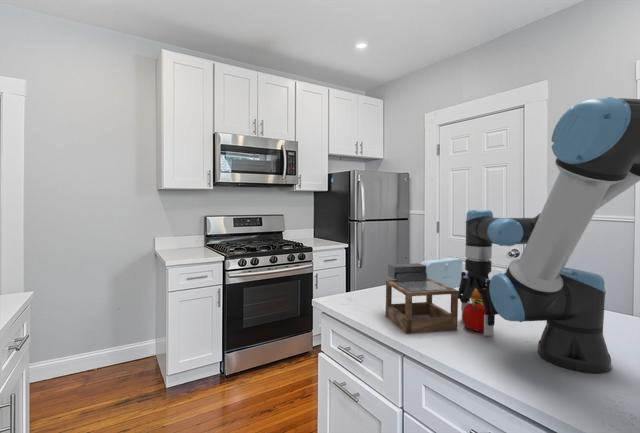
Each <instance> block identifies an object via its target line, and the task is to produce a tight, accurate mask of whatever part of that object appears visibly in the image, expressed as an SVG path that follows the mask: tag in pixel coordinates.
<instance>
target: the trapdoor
mask: <svg viewBox="0 0 640 433" xmlns="http://www.w3.org/2000/svg"><path fill="white" fill-rule="evenodd" d="M387 265H388V266H387V269H388V270H387V276H388V277H390V278H391V279H393V280H396V281H409V282H395V283H396V284H397V285H399V286H401V287H403V288H404V289H406V290H408V291H410V292H414V291H434V290H449V289H447V288H445V287H443V286H440V285H438V284H436V283H434V282H431V281H412V280H427V273H426V266H425V265H422V264H421V263H419V262H418V263H417V262H416V263H413V262H412V263H388V264H387Z"/></svg>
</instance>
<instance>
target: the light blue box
mask: <svg viewBox="0 0 640 433" xmlns="http://www.w3.org/2000/svg"><path fill="white" fill-rule="evenodd" d="M420 264H422V265H425V266H426V273H427V279H432V280H435V281H437V282H439V283H442V284H444V285H446V286H449V287H451V288H453V289H455V288H459V286H460V282H461V273H462V272H463V259H461V258H457V257H447V258H439V259H431V260H430V259H429V260H422V261H421V263H420Z"/></svg>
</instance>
